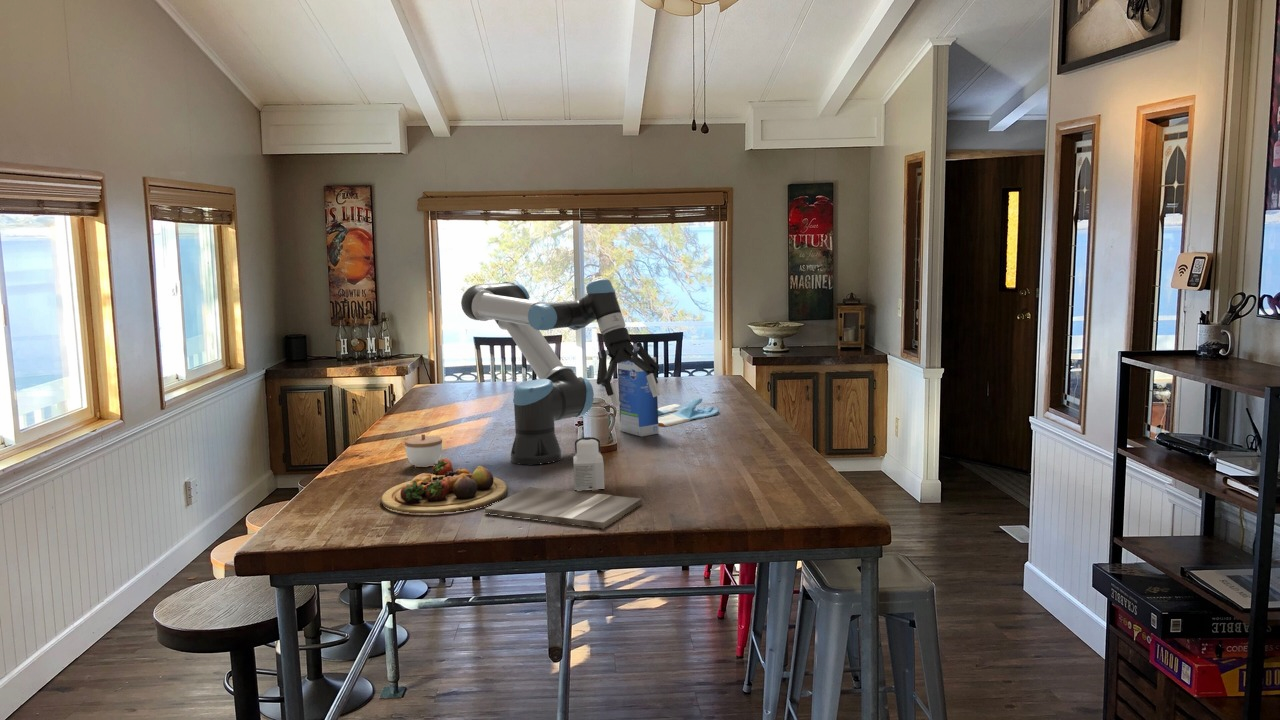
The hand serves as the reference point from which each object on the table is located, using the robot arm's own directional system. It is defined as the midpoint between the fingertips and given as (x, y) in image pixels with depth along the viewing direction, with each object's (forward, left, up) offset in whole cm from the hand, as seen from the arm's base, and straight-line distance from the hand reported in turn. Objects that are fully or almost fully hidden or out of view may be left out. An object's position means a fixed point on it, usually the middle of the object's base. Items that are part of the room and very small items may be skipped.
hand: (637, 400), depth 257 cm
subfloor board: (+1, -45, -19) cm, 49 cm away
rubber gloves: (-22, +72, -20) cm, 78 cm away
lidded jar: (-61, -20, -19) cm, 67 cm away
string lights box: (-20, +41, -19) cm, 49 cm away
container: (-3, -25, -19) cm, 31 cm away
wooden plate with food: (-34, -46, -20) cm, 60 cm away
